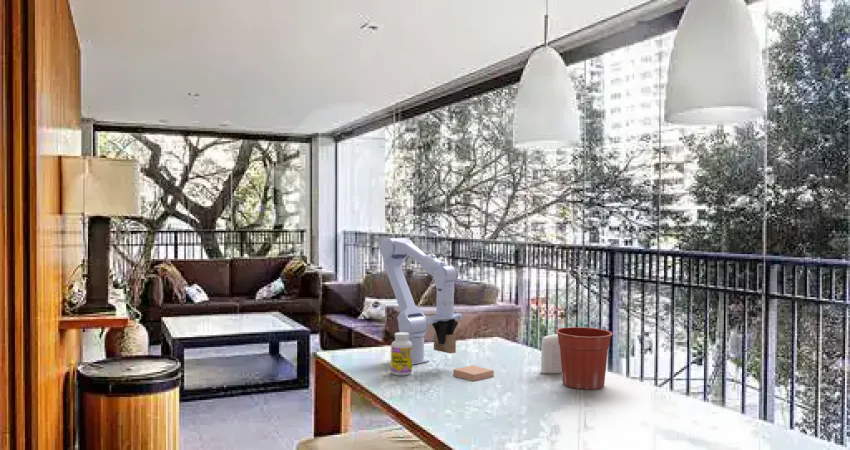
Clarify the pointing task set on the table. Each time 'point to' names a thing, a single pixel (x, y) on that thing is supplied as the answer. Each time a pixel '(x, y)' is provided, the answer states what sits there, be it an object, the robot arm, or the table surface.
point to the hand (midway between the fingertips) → (444, 343)
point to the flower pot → (583, 356)
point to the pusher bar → (446, 344)
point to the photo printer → (551, 355)
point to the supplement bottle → (401, 354)
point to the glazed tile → (473, 372)
